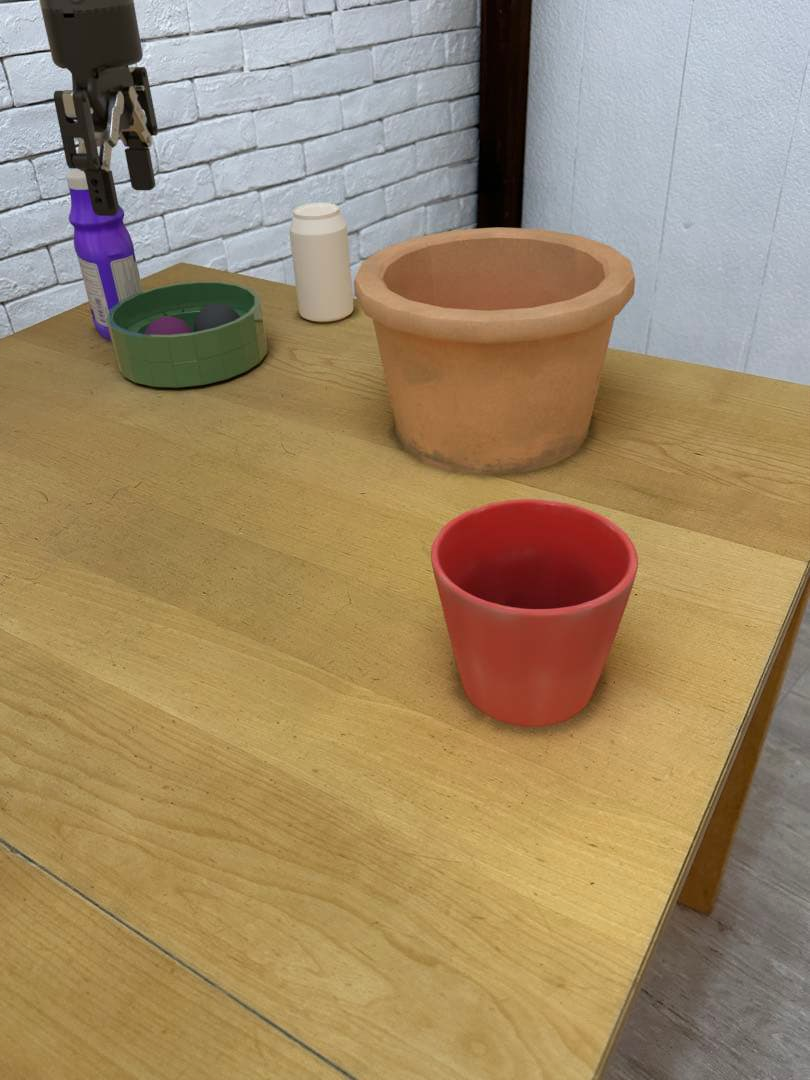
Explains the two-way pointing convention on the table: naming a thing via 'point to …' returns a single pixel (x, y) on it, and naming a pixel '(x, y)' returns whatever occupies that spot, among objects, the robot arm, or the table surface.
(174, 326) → the plum ball
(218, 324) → the grey ball
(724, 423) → the table surface
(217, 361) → the green bowl
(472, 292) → the pottery
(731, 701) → the table surface
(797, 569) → the table surface
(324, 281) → the beverage can
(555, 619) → the flower pot
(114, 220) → the bottle
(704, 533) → the table surface
